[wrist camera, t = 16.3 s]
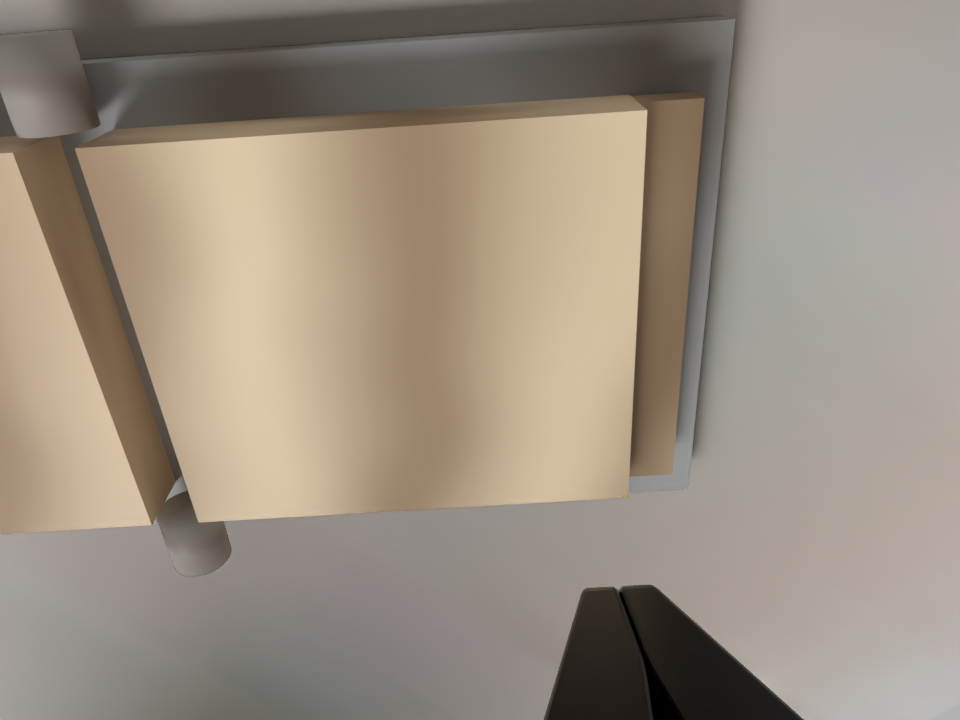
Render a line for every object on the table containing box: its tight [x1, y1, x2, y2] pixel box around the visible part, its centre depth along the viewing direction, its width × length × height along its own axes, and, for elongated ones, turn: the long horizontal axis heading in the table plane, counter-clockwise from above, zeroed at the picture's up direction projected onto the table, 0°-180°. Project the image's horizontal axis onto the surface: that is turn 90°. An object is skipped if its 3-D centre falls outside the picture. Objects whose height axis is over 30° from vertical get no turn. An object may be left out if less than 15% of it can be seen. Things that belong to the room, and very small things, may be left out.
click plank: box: [75, 92, 705, 523], centre depth 15 cm, size 11×9×2 cm
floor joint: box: [0, 16, 736, 577], centre depth 16 cm, size 20×12×2 cm, turn 94°
